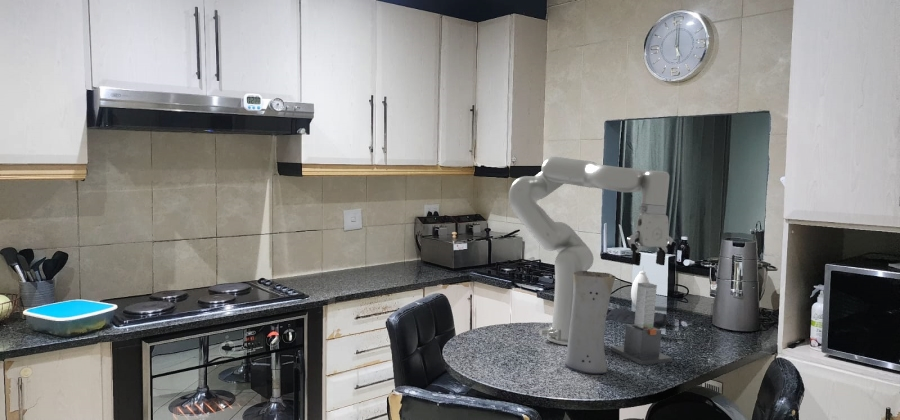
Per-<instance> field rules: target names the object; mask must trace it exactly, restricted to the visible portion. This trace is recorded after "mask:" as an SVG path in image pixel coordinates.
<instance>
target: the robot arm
mask: <svg viewBox="0 0 900 420" xmlns="http://www.w3.org/2000/svg"><path fill="white" fill-rule="evenodd" d="M540 169H541V171H540V172H538V173H537V174H536V175H534V176H532V175H531V176H528V175H524V176H520V177H518V178H516V179H515V180H514V181H513V182H512V184H511V186H510V188H509V191H508V202H509V205H510V208H511V211H513V212H512V213H514V215H515V217H517V218H518V220H519V221H520V222H521V223H522V224H523V226H524V227H525V228H526V229H527V231H529V233H530V234H531V235H532V237H533V238H534V239H535V240H536V241H537V242H538V244H539V245H540V246H541V247H542V248H543V249H544V250H546V251H550V252H551V251H553V252H554V251H556V252H557V253H558V254H557V255H556V257H555V260H554V276H555V278H554V279H555V280H554V298H553V310H552V323H551V324H550V325H549V326H548V328H546V329H545V328H543V329H542V328H541V329H539V330H538V333H539V335H540V336H546V339H547V340H548V341H550V342H551V343H554V344H557V345H563V346H568V337H569V329H570V321H571V313H572V303H573V286H574V279H573V273H575V272H578V271H588V270H590V269H591V267H592V266H593V264H594V255H593V254H594V253H593V252H592V250H591V249H590V247H589V246H588V245H587V244H586V243H585V242H584V241H583V239H582V238H581V237H580V236H579V234H577V233H576V231H575V230H574V229H573V228H572V227H571V226H570V225H568V224H567V223H565V222H563V221H554V220H553V219H552V218H551V217H550V215H549V214H547V212H546V211H545V210H544V208H542V207H541V206H540V205H539V204H538V203H537V202H536V201H539V200H542V199H544V198H545V197H547V196H549V195H550V194H552V193H553V192H555V191H556V190H558V189H559V188H560V187H562V186H563V185H573V186H577V187H579V186H580V187H584V188H589V189H590V188H593V189H594V188H595V189H600V190H607V191H614V192H619V193H639V192H641V193H642V194H641V204H640V206H639V207H638V210H639V211H640V213H638V217H637V220H636V225H635V229H634V233H633V234H632V235H630V236H628V237H627V238H626V240H627V243H628V247H629V250H630V251H631V252H632V253H631V254H632V255H631V264H632V265H633V266H634V265H635V266H638V267H639V266H640V265H641V259H642V253H641V251H642V250H643V248H656V249H657V250H658V251H657V252H656V260H655V264H656V265H660V266H665V262H666V254H667V253H668V251H669V250H670V248H671V246H672V243H673V242H674V238H673V237H671V236H670V235H669V233H670V229H669V227H670V226H669V217H668V215H666V214H667V206H668V204H667V203H668V196H669V195H668V194H669V187H670V185H669V184H670V174H669V172H667V171H662V170H650V169H649V170H643V169H638V168H633V167H621V166H614V165H605V164H601V163H596V162H594V161H591V160H582V159H576V158H570V157H562V156H560V157H559V156H550V157H548V158H547V159H545V160H544V161H543V163H542V164H541V168H540Z"/></svg>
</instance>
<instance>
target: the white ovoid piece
mask: <svg viewBox="0 0 900 420" xmlns="http://www.w3.org/2000/svg"><path fill="white" fill-rule="evenodd" d="M638 283H650V280H649V277H648V276H647V274H646V271H644V266H641V270H640V271H638V274H637V275H636V276H635V278H634V280H633V283H632V284H631V285H632V286H631V290H630V297H631V300H632V301H631V302H632V303H633V304H634V305H635V306H636V300H637V288H638Z"/></svg>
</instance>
